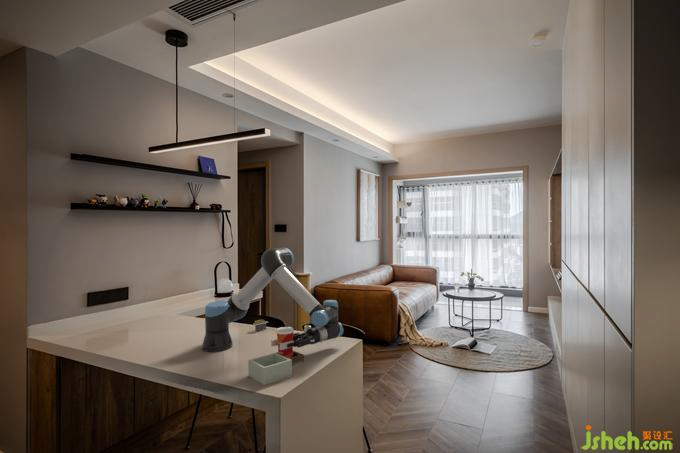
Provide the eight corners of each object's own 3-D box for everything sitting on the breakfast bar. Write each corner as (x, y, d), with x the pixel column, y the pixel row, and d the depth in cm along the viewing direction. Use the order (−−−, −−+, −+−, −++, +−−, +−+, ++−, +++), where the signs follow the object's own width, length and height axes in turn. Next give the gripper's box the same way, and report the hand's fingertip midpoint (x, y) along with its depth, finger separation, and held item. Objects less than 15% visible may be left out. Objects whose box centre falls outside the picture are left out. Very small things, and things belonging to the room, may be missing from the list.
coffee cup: (277, 358, 171) (276, 326, 172) (295, 357, 172) (294, 326, 172) (275, 365, 163) (275, 331, 163) (294, 364, 164) (293, 330, 164)
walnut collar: (267, 361, 168) (267, 354, 168) (289, 355, 176) (289, 348, 176) (281, 368, 159) (281, 361, 159) (303, 361, 167) (303, 354, 167)
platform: (241, 332, 222) (241, 321, 222) (265, 326, 235) (265, 316, 235) (253, 335, 214) (253, 324, 214) (277, 329, 227) (277, 318, 227)
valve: (301, 338, 205) (316, 342, 197) (300, 326, 205) (315, 330, 197) (309, 335, 210) (324, 339, 202) (309, 324, 210) (324, 327, 202)
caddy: (248, 375, 151) (248, 359, 151) (275, 367, 160) (275, 352, 160) (264, 384, 141) (263, 368, 142) (292, 375, 150) (291, 359, 150)
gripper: (329, 346, 172) (288, 358, 157) (304, 338, 187) (265, 348, 172) (328, 331, 172) (287, 341, 157) (304, 323, 187) (264, 332, 172)
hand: (275, 345), depth 164 cm, fingers closed on coffee cup, 7 cm apart
